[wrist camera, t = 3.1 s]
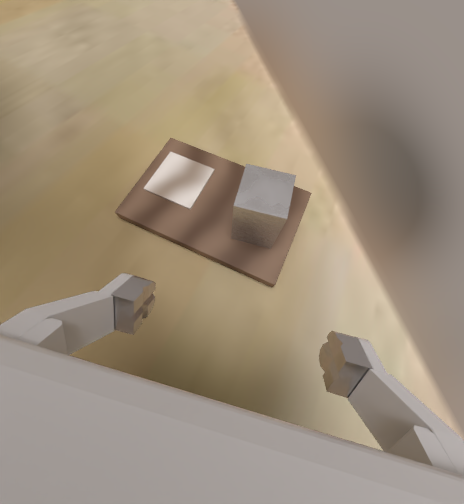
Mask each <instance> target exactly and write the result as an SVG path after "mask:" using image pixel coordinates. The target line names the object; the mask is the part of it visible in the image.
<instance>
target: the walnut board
mask: <svg viewBox="0 0 464 504" xmlns="http://www.w3.org/2000/svg"><path fill="white" fill-rule="evenodd" d="M244 170H245V167H244V166H241V165H239V164H236V163H234V162H231V161H229V160H226V159H224V158H221V157H219V156H216V155H213V154H211V153H208V152H206V151H203V150H201V149H198V148H196V147H193V146H191V145H188V144H185V143H183V142H180V141H178V140H175V139H173V138H170V140H169V141H168V142H167V143H166V145H165V146H164V147H163V149H162V150H161V151H160V153H159V154H158V155H157V157H156V158H155V159H154V161H153V162H152V163H151V165H150V166H149V167H148V169H147V170H146V171H145V173H144V174H143V175H142V177H141V178H140V179H139V181H138V182H137V183H136V184H135V186H134V187H133V188H132V190H131V191H130V192H129V194H128V195H127V196H126V198H125V199H124V200H123V202H122V203H121V204H120V206H119V207H118V208H117V210H116V211H115V213H116V214H117V215H118V216H119V217H120V218H122V219H124V220H126V221H128V222H130V223H132V224H135V225H137V226H139V227H141V228H143V229H146V230H148V231H150V232H152V233H154V234H157V235H159V236H161V237H163V238H165V239H167V240H170V241H172V242H174V243H176V244H178V245H181V246H183V247H185V248H187V249H189V250H192V251H194V252H196V253H198V254H200V255H202V256H205V257H207V258H209V259H211V260H213V261H216V262H218V263H220V264H222V265H224V266H227V267H229V268H231V269H233V270H235V271H237V272H240V273H242V274H244V275H246V276H248V277H251V278H253V279H255V280H257V281H259V282H262V283H264V284H266V285H268V286H270V287H273V286H274V285H275V284H276V281H277V279H278V276H279V274H280V271H281V269H282V266H283V263H284V261H285V258H286V256H287V253H288V251H289V248H290V246H291V243H292V241H293V238H294V236H295V233H296V231H297V228H298V226H299V223H300V221H301V218H302V216H303V213H304V211H305V208H306V206H307V203H308V201H309V198H310V195H311V193H310V192H308V191H305V190H303V189H300V188H297V187H295V186H294V187H293V192H292V197H291V202H290V207H289V212H288V218H287V220H286V222H285V224H284V226H283V227H282V229H281V231H280V233H279V235H278V236H277V238H276V240H275V242H274V243H273V245H272V247H271V249H270V248H266V247H262V246H258V245H254V244H250V243H246V242H243V241H239V240H235V239H231V235H232V220H233V206H234V203H235V199H236V196H237V193H238V189H239V186H240V183H241V180H242V176H243V173H244Z"/></svg>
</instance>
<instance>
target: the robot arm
mask: <svg viewBox="0 0 464 504" xmlns="http://www.w3.org/2000/svg"><path fill="white" fill-rule="evenodd" d="M155 289H156V283H155V282H154V281H150V280H147V279H144V278H140V277H137V276H133V275H130V274H126V273H122V274H120V275H119V276H117V277H116V278H115V279H114V280H112V281H111V282H110V283H108V284H107V285H106V286H105V287H103V288H102V289H101V290H99V291H98V292H97V291H92V292H88V293H84V294H81V295H77V296H73V297H69V298H65V299H62V300H58V301H54V302H50V303H47V304H43V305H39V306H35V307H31V308H28V309H25V310H23V311H22V312H20V313H18V314H17V315H15V316H14V317H12V318H10V319H9V320H7V321H6V322H4V323H2V324H1V325H0V504H464V441H463V439H462V438H461V437H460V436H459V435H458V434H457V433H455V432H454V431H453V430H452V429H451V428H450V427H449V426H448V425H447V424H445V423H444V422H443V421H442V420H441V419H440V418H439V417H438V416H437V415H435V414H434V413H433V412H432V411H431V410H430V409H429V408H428V407H427V406H426V405H424V404H423V403H422V402H421V401H420V400H419V399H418V398H417V397H416V396H414V395H413V394H412V393H411V392H410V391H409V390H408V389H407V388H406V387H404V386H403V385H402V384H401V383H400V382H399V381H398V380H397V379H396V378H394V377H393V376H392V375H391V374H387V372H386V370H385V368H384V366H383V365H382V363H381V361H380V359H379V357H378V356H377V354H376V352H375V350H374V348H373V346H372V345H371V343H370V342H369V341H368V340H366V339H362V338H358V337H353V336H349V335H346V334H342V333H338V332H335V331H331V332H330V333H329V334H328V336H327V339H328V342H327V343H325V344H323V345H322V347H321V349H320V354H319V361H320V366H321V368H322V369H323V370H324V371H325V373H324V375H323V378H324V382H325V386H326V390H327V392H330V393H333V394H336V395H340V396H343V397H346V398H348V401H349V402H350V403H351V405H352V406H353V408H354V409H355V411H356V412H357V413H358V415H359V416H360V418H361V419H362V421H363V422H364V423H365V425H366V426H367V428H368V429H369V430H370V432H371V433H372V435H373V436H374V438H375V439H376V440H377V442H378V443H379V445H380V446H381V448H382V449H383V450H384V451H381V450H378V449H375V448H371V447H368V446H365V445H361V444H358V443H355V442H352V441H348V440H345V439H342V438H339V437H335V436H332V435H329V434H325V433H322V432H319V431H316V430H312V429H309V428H306V427H302V426H299V425H296V424H292V423H289V422H286V421H283V420H279V419H276V418H273V417H269V416H266V415H263V414H260V413H256V412H253V411H250V410H246V409H243V408H240V407H237V406H233V405H230V404H227V403H224V402H220V401H217V400H214V399H210V398H207V397H204V396H201V395H197V394H194V393H191V392H187V391H184V390H181V389H178V388H174V387H171V386H168V385H165V384H161V383H158V382H155V381H151V380H148V379H145V378H142V377H138V376H135V375H132V374H128V373H125V372H122V371H119V370H115V369H112V368H109V367H105V366H102V365H99V364H96V363H92V362H89V361H86V360H82V359H79V358H76V357H73V356H69V355H70V354H72V353H74V352H76V351H77V350H79V349H81V348H83V347H85V346H87V345H89V344H91V343H93V342H94V341H96V340H98V339H100V338H102V337H104V336H106V335H108V334H110V333H111V332H113V331H114V330H117V331H121V332H125V333H129V334H133V335H134V334H135V332H136V331H137V330H138V328H139V327H140V326H141V325H142V319H143V318H146V317H148V315H149V314H150V313H151V311H152V308H153V306H154V302H155V296H154V295H153V292H154V291H155Z"/></svg>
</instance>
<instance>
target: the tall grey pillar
mask: <svg viewBox="0 0 464 504" xmlns="http://www.w3.org/2000/svg"><path fill="white" fill-rule="evenodd" d="M295 177H296V175H292V174H288V173H283V172H279V171H275V170H271V169H266V168H262V167H258V166H254V165H249V164H246V166H245V170H244V173H243V176H242V180H241V183H240V186H239V189H238V193H237V196H236V199H235V203H234V206H233V220H232V235H231V239H235V240H239V241H243V242H246V243H250V244H254V245H258V246H262V247H266V248H270V249H271V247H272V245H273V243H274V242H275V240H276V238H277V236H278V235H279V233H280V231H281V229H282V227H283V226H284V224H285V222H286V220H287V218H288V212H289V207H290V202H291V197H292V192H293V187H294V182H295Z"/></svg>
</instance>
